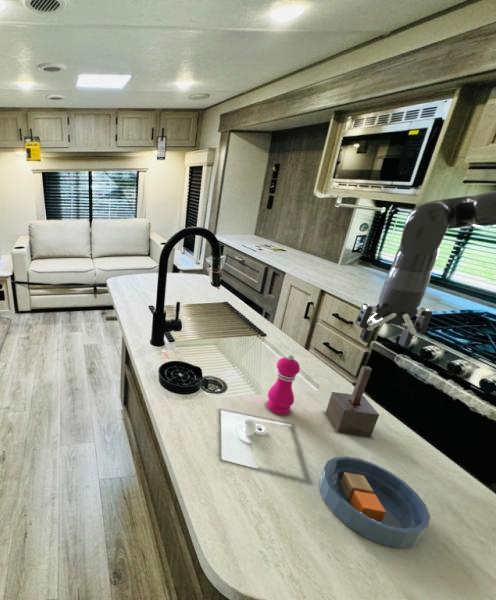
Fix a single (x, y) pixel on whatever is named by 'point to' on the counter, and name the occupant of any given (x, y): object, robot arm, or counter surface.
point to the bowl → (392, 495)
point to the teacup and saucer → (240, 437)
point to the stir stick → (360, 385)
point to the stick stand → (351, 415)
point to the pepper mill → (283, 386)
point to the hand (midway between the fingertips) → (383, 343)
